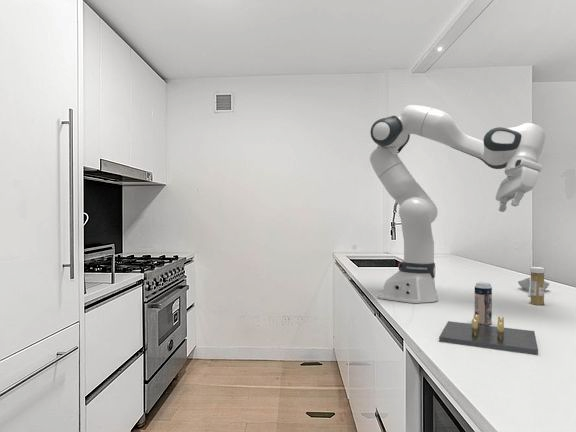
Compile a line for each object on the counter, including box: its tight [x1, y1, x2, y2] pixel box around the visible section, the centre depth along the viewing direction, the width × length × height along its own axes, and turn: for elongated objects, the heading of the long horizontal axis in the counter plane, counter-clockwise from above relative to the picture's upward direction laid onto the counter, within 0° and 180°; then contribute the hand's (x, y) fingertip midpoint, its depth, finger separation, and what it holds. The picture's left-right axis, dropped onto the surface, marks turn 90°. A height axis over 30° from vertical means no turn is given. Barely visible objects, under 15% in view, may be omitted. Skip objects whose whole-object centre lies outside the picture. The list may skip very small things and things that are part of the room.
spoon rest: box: [517, 277, 550, 298], centre depth 178 cm, size 24×12×7 cm, turn 153°
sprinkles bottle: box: [529, 266, 546, 306], centre depth 156 cm, size 5×5×14 cm
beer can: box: [473, 282, 493, 326], centre depth 128 cm, size 5×5×12 cm
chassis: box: [438, 314, 539, 356], centre depth 113 cm, size 22×18×5 cm
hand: (507, 208), depth 139 cm, fingers open, 8 cm apart
